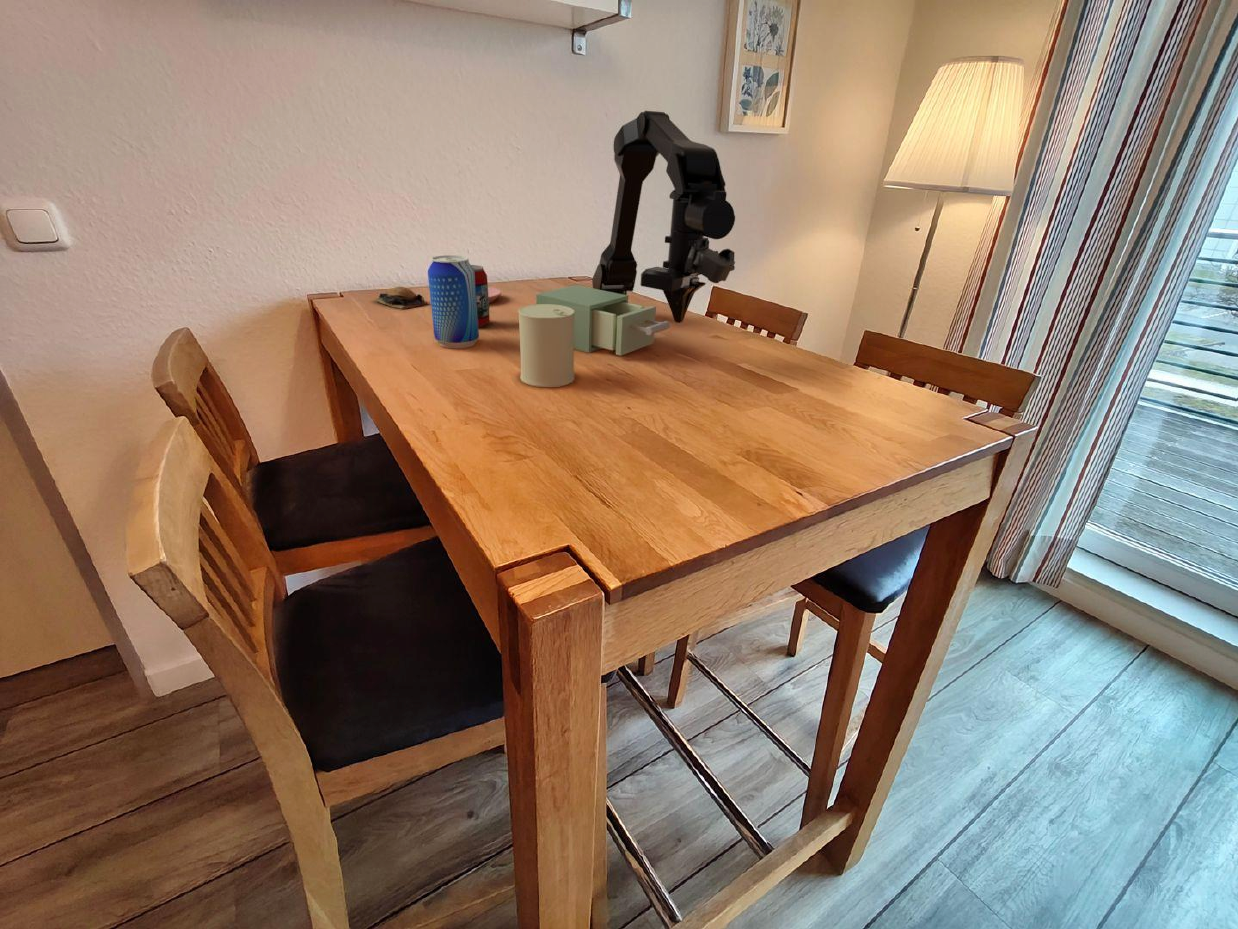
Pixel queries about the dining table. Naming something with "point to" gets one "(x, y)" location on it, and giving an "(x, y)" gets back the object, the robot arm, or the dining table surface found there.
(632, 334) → the drawer
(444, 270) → the beer can
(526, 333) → the can
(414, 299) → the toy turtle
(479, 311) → the beverage can
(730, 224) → the robot arm
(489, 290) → the plate
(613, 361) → the dining table surface
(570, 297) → the cabinet
